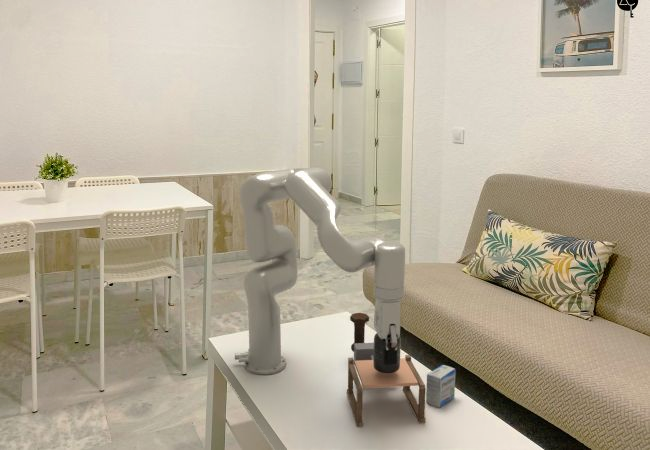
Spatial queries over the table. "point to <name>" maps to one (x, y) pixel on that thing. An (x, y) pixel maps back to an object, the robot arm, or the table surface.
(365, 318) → the bolt
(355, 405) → the small wooden stool
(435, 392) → the medicine box
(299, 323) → the table surface
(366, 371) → the trapdoor
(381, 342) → the supplement bottle
